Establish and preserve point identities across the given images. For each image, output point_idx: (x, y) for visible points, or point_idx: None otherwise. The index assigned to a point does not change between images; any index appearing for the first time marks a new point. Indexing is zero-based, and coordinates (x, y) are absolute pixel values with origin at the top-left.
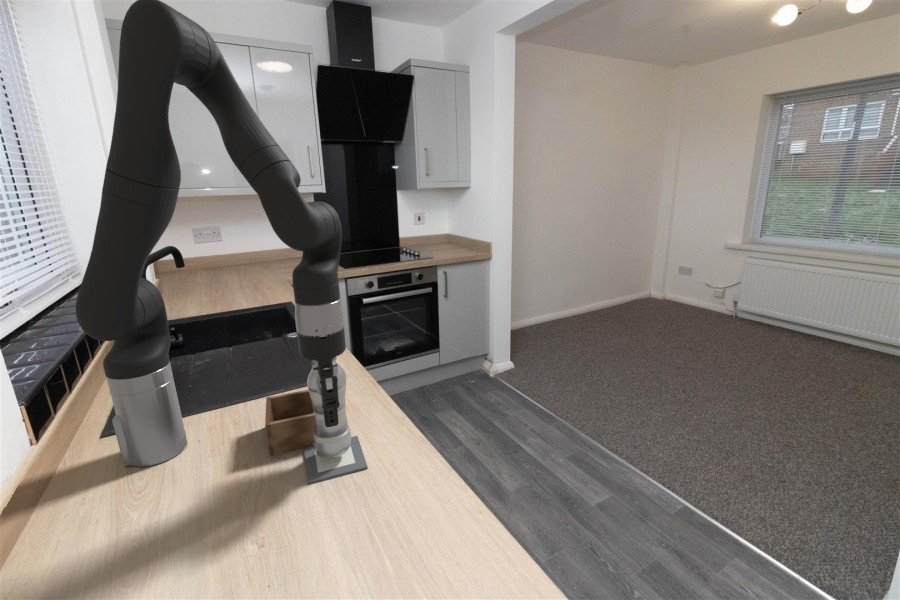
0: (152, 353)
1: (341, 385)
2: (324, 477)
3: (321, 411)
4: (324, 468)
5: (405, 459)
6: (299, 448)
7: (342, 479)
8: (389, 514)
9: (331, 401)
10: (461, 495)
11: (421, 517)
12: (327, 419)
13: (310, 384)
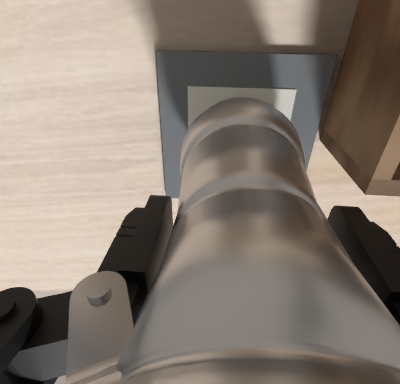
0: None
1: None
2: (161, 100)
3: (175, 231)
4: (197, 106)
5: None
6: (350, 38)
7: (149, 140)
8: (30, 196)
9: (16, 374)
10: (61, 284)
11: (21, 233)
12: (119, 232)
13: None
